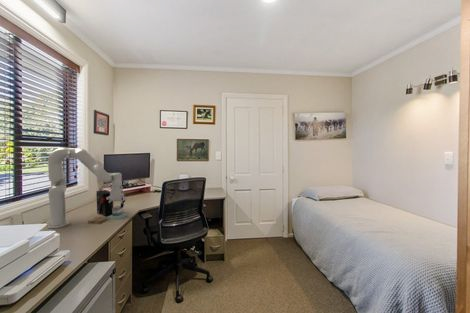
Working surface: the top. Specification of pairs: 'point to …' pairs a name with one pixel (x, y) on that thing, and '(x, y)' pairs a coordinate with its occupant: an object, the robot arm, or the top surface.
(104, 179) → the robot arm
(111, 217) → the stand
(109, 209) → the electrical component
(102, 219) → the stand
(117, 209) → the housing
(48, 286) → the top surface
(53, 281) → the top surface
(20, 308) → the top surface
